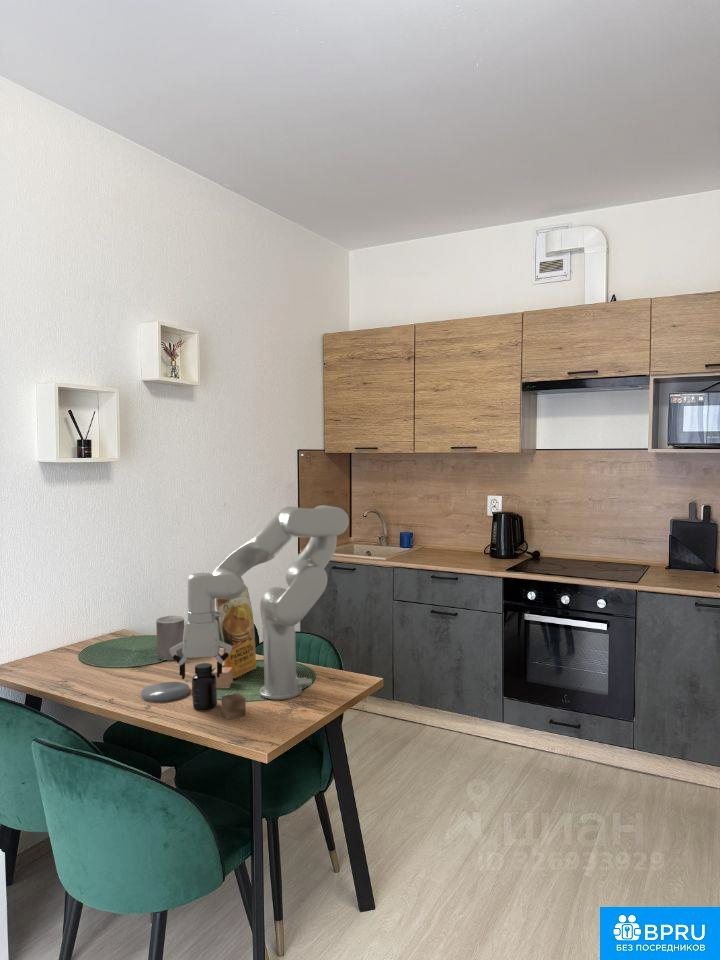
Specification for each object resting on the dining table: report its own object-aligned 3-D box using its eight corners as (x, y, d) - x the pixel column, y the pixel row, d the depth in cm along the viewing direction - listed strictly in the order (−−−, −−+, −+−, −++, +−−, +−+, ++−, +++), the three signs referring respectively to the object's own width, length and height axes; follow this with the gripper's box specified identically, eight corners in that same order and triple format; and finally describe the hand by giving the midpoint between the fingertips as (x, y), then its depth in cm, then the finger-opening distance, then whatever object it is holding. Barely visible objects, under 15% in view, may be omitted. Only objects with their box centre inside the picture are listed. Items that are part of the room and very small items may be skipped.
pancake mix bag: (211, 680, 217) (208, 593, 216) (248, 663, 233) (246, 582, 232) (227, 683, 214) (225, 594, 212) (264, 665, 230) (262, 583, 229)
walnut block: (239, 710, 191) (238, 692, 191) (245, 716, 187) (245, 698, 187) (222, 714, 189) (221, 696, 188) (228, 720, 184) (227, 702, 184)
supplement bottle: (207, 700, 199) (205, 660, 198) (222, 706, 195) (221, 664, 194) (187, 707, 194) (186, 666, 193) (202, 713, 189) (201, 670, 189)
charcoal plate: (190, 683, 214) (190, 680, 214) (188, 699, 200) (188, 695, 200) (143, 687, 211) (143, 683, 211) (138, 704, 197) (138, 700, 197)
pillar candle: (153, 656, 244) (151, 615, 243) (179, 651, 249) (178, 610, 249) (163, 663, 236) (161, 620, 235) (189, 657, 242) (188, 615, 241)
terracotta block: (232, 683, 214) (232, 667, 214) (228, 688, 209) (228, 672, 209) (217, 683, 214) (216, 667, 214) (212, 688, 209) (212, 672, 209)
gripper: (232, 613, 198) (231, 671, 199) (170, 615, 195) (170, 674, 195) (232, 619, 191) (232, 679, 191) (168, 621, 187) (168, 682, 188)
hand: (200, 676), depth 193 cm, fingers open, 9 cm apart
